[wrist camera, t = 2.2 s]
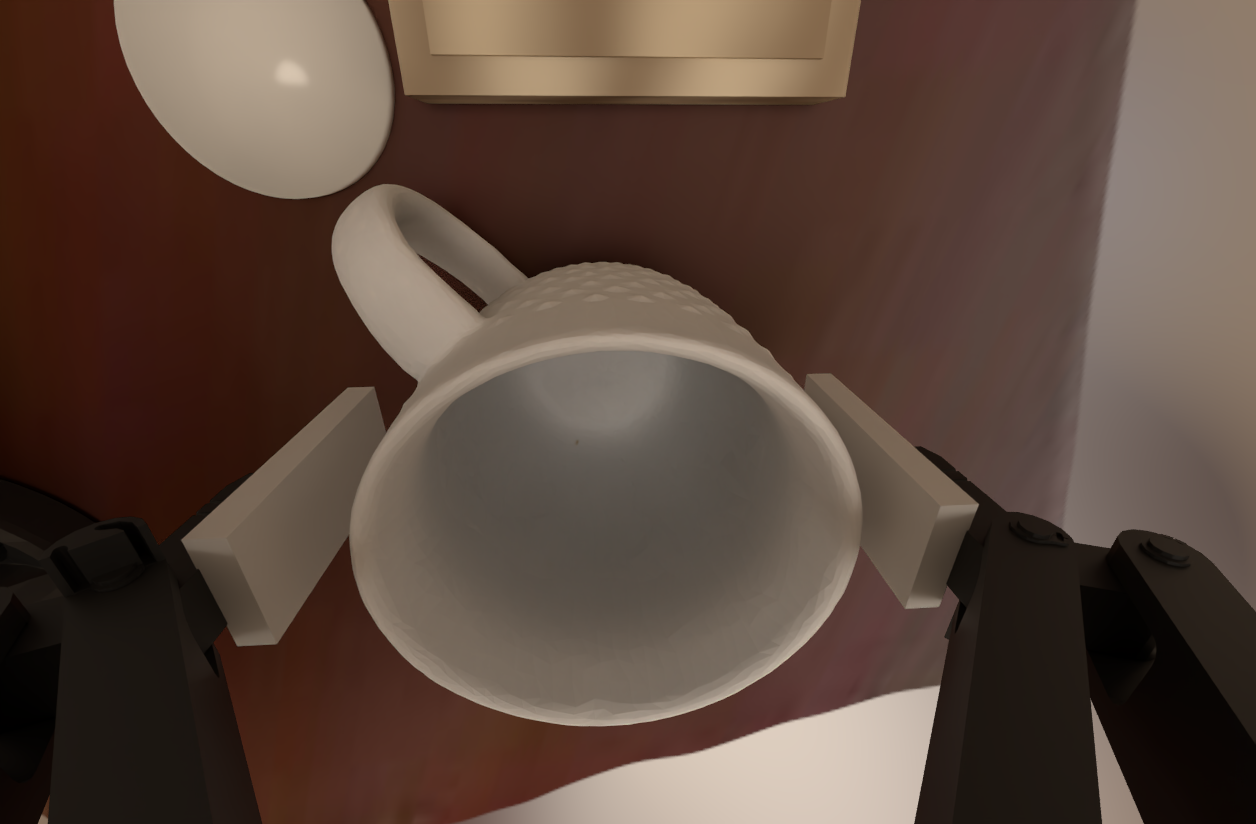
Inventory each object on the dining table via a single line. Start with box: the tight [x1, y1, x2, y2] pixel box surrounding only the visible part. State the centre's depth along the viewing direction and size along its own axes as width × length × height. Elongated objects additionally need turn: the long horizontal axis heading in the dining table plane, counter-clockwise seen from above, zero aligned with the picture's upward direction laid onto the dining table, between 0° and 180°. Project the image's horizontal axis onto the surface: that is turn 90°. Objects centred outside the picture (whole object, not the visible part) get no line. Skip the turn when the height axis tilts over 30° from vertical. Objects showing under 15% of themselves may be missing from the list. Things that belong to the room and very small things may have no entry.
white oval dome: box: [114, 0, 395, 199], centre depth 16 cm, size 8×8×1 cm
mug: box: [332, 184, 862, 726], centre depth 16 cm, size 15×11×13 cm
